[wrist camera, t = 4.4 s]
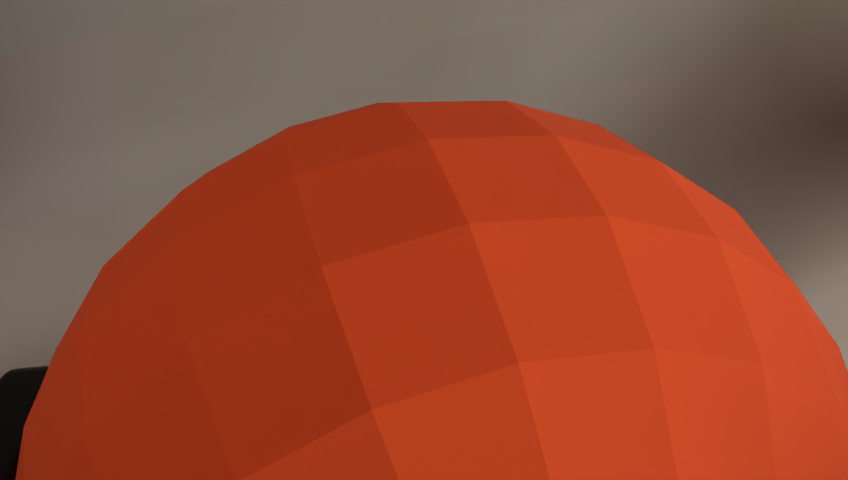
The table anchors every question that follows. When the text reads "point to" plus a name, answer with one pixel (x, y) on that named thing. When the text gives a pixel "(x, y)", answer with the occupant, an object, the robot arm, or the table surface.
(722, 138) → the table surface
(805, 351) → the clementine
